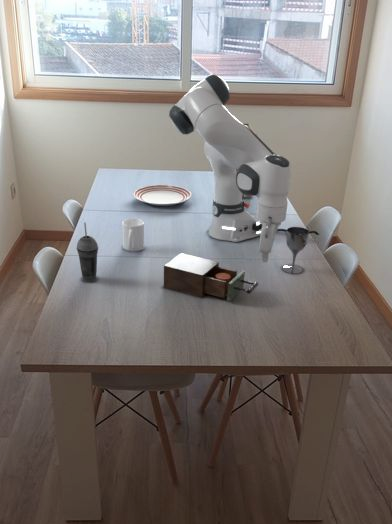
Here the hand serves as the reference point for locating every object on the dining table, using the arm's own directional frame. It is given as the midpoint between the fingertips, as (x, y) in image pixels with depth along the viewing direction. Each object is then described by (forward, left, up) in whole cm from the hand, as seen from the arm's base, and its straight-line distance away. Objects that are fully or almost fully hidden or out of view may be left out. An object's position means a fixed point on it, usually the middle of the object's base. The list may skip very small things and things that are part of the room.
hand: (266, 255), depth 182 cm
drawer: (+7, -11, -16) cm, 21 cm away
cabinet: (+15, -22, -17) cm, 31 cm away
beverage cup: (+45, -40, -17) cm, 62 cm away
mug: (+21, -58, -17) cm, 64 cm away
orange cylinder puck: (+8, -12, -15) cm, 21 cm away
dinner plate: (-16, -108, -17) cm, 111 cm away
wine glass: (-26, -18, -17) cm, 36 cm away
